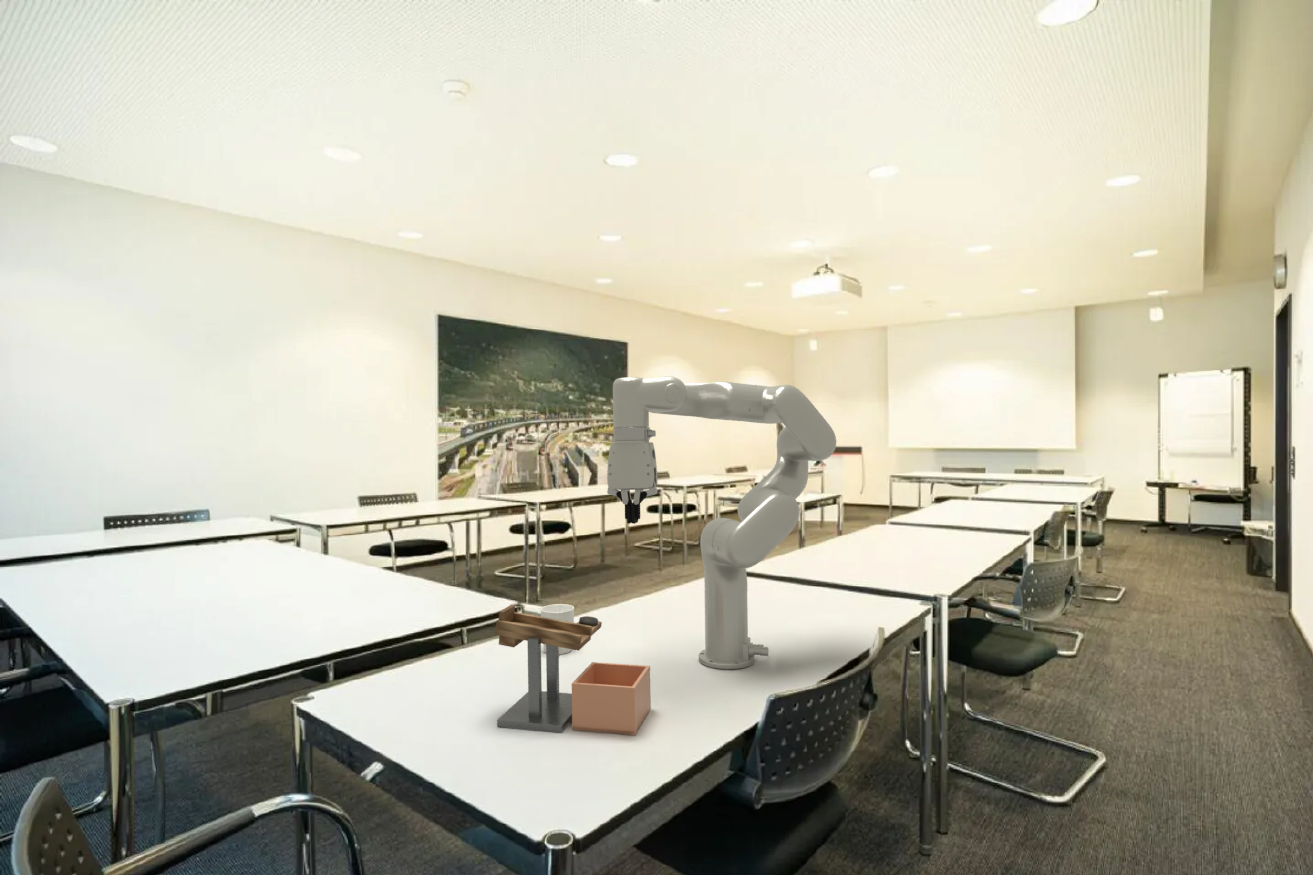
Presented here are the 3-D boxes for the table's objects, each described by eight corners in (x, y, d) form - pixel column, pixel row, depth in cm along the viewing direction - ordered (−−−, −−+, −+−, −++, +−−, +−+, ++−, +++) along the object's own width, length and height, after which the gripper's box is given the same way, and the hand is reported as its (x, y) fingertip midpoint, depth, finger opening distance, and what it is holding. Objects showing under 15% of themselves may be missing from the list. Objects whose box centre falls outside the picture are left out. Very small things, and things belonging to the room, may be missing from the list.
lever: (602, 637, 134) (605, 607, 134) (577, 661, 120) (580, 628, 120) (527, 623, 138) (530, 593, 138) (493, 645, 124) (497, 612, 123)
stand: (588, 701, 131) (587, 622, 130) (561, 732, 117) (560, 644, 117) (529, 696, 133) (528, 619, 133) (497, 726, 120) (495, 641, 120)
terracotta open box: (650, 708, 126) (650, 665, 126) (635, 735, 115) (634, 687, 115) (592, 704, 129) (592, 662, 129) (572, 729, 118) (571, 683, 118)
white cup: (568, 656, 157) (567, 613, 157) (536, 654, 159) (535, 611, 159) (579, 645, 165) (578, 604, 165) (548, 644, 166) (547, 603, 166)
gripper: (669, 435, 147) (670, 521, 147) (602, 436, 150) (604, 520, 150) (662, 435, 139) (663, 525, 139) (592, 436, 143) (593, 524, 143)
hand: (632, 522), depth 145 cm, fingers closed
